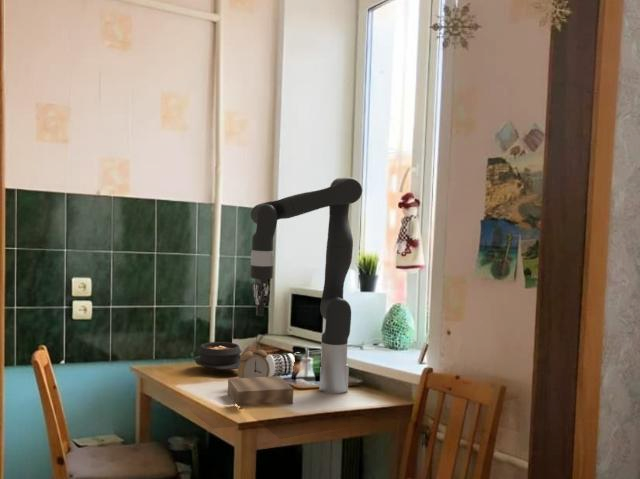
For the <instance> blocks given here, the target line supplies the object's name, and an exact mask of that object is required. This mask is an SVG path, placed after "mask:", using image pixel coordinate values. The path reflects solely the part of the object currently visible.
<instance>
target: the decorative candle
mask: <svg viewBox="0 0 640 479" xmlns="http://www.w3.org/2000/svg"><path fill="white" fill-rule="evenodd" d="M296 353H300V352H299V351H297V352H296ZM296 353H290V352H289V353H286V352H284V353H275V354H274V353H272V354H267V358H266V357H265V359H266V360H267V361H268V363H269V368H270V371H269V376H268V377H273V376H280V377H281V376H282V377H285V376H286V377H288V376H289V375H293V374H292V372H293V366H294V362H295V355H296Z"/></svg>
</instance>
